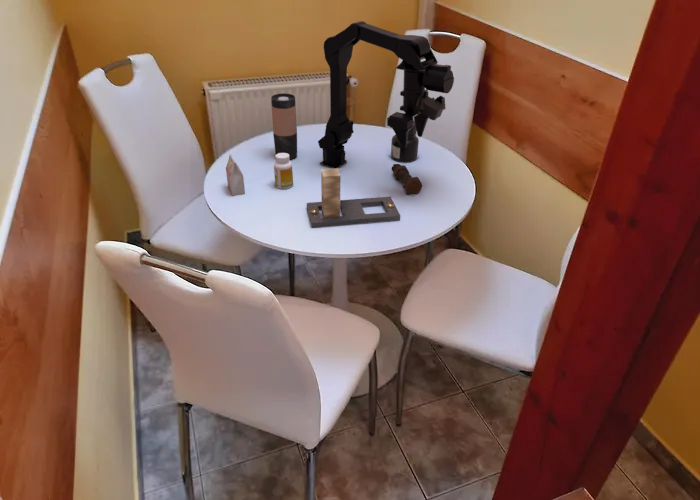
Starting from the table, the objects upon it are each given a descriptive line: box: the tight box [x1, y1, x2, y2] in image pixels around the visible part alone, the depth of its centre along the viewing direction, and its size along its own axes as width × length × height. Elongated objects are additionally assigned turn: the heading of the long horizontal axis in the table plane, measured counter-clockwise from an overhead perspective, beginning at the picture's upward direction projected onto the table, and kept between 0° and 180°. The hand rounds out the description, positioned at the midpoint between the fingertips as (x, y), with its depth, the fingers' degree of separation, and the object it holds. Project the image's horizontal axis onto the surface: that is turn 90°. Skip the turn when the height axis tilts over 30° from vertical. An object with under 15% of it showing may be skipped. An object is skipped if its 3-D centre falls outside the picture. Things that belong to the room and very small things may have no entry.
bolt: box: [391, 163, 423, 196], centre depth 162 cm, size 6×5×15 cm
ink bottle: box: [390, 119, 420, 163], centre depth 175 cm, size 10×9×12 cm
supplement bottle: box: [273, 153, 294, 190], centre depth 158 cm, size 5×5×10 cm
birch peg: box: [320, 168, 341, 218], centre depth 142 cm, size 4×4×13 cm
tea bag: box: [225, 154, 246, 197], centre depth 155 cm, size 4×7×10 cm, turn 22°
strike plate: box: [306, 195, 401, 229], centre depth 146 cm, size 24×11×2 cm, turn 101°
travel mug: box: [271, 92, 298, 162], centre depth 172 cm, size 8×8×20 cm
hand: (412, 141), depth 152 cm, fingers open, 9 cm apart
